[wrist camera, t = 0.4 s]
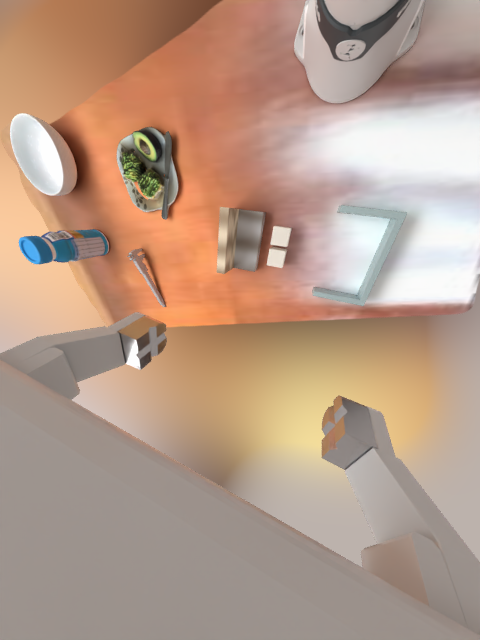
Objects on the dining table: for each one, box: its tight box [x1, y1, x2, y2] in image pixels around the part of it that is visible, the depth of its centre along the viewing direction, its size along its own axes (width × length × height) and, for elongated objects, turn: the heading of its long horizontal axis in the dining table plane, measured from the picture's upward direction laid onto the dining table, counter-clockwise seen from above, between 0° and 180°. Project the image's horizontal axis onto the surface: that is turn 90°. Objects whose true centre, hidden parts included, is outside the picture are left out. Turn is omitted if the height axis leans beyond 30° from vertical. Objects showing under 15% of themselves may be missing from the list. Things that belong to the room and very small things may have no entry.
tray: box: [312, 205, 407, 306], centre depth 45 cm, size 20×12×4 cm, turn 173°
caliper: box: [127, 249, 166, 307], centre depth 64 cm, size 20×1×6 cm, turn 14°
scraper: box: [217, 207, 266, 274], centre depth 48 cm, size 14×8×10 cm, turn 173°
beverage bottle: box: [19, 229, 109, 264], centre depth 58 cm, size 8×8×20 cm
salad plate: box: [117, 127, 179, 219], centre depth 50 cm, size 19×18×5 cm
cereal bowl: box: [10, 113, 77, 196], centre depth 54 cm, size 17×17×7 cm
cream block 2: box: [267, 247, 287, 268], centre depth 50 cm, size 4×4×4 cm
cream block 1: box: [271, 226, 292, 247], centre depth 47 cm, size 4×4×4 cm
